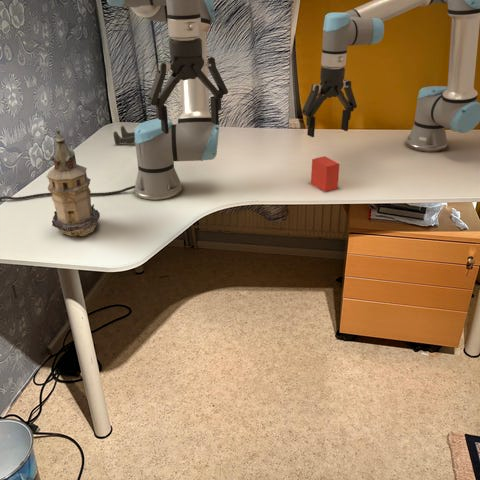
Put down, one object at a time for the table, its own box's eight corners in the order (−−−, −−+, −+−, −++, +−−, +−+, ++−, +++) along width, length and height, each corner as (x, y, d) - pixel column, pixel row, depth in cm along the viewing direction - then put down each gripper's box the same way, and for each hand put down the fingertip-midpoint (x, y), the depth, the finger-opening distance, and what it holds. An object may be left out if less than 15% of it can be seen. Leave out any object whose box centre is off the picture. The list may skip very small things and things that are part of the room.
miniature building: (80, 214, 164) (63, 117, 149) (111, 225, 157) (96, 125, 142) (44, 231, 154) (22, 130, 140) (75, 244, 147) (55, 139, 133)
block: (325, 191, 176) (326, 166, 172) (310, 183, 182) (312, 159, 178) (337, 188, 178) (339, 163, 174) (323, 180, 184) (324, 156, 180)
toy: (129, 119, 231) (196, 119, 225) (131, 133, 234) (197, 134, 228) (104, 139, 209) (177, 139, 203) (107, 154, 212) (179, 155, 206)
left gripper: (138, 45, 115) (148, 140, 125) (240, 35, 125) (241, 123, 136) (127, 40, 121) (137, 131, 131) (225, 31, 131) (228, 116, 142)
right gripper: (306, 73, 159) (302, 142, 169) (372, 65, 169) (364, 130, 179) (292, 68, 164) (289, 135, 175) (357, 60, 175) (350, 124, 185)
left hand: (190, 127), depth 134 cm, fingers open, 13 cm apart
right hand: (327, 133), depth 177 cm, fingers open, 13 cm apart
